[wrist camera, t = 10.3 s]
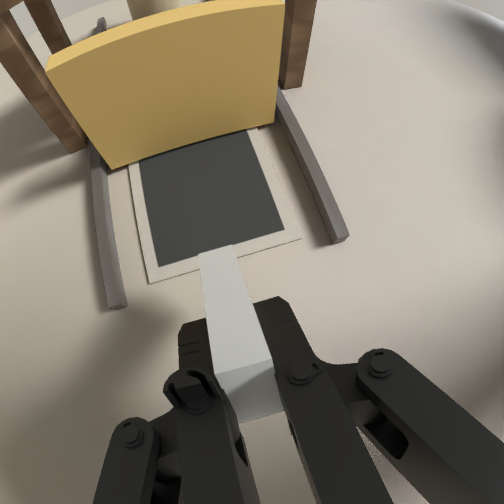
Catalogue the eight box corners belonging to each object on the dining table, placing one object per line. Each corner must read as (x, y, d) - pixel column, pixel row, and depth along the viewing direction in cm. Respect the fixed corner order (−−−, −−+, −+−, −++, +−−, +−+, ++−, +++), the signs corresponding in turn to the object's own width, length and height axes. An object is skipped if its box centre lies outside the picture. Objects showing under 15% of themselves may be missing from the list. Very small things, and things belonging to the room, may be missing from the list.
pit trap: (245, 103, 22) (245, 101, 22) (300, 238, 19) (301, 237, 19) (125, 137, 21) (124, 136, 21) (150, 283, 18) (149, 283, 18)
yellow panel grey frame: (220, 18, 25) (214, -61, 15) (273, 122, 21) (285, 4, 11) (108, 50, 24) (79, -24, 14) (111, 169, 20) (44, 72, 10)
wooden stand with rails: (234, -10, 28) (231, -107, 13) (374, 231, 19) (530, 62, 5) (83, 33, 26) (46, -58, 12) (86, 318, 17) (-129, 254, 3)
